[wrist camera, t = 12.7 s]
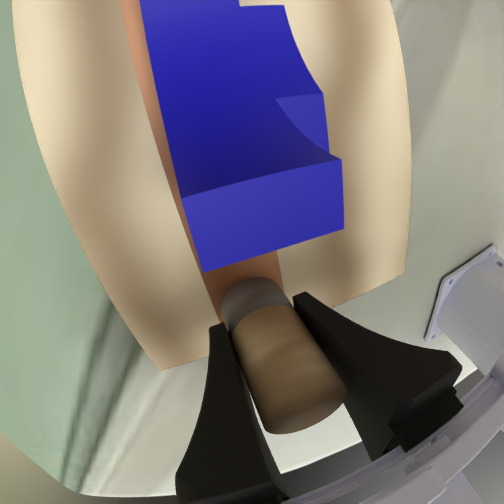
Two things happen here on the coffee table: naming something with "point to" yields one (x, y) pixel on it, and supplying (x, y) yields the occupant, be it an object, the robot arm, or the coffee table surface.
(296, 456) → the coffee table surface
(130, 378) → the coffee table surface
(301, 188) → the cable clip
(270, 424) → the cylindrical peg
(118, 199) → the plywood sheet
